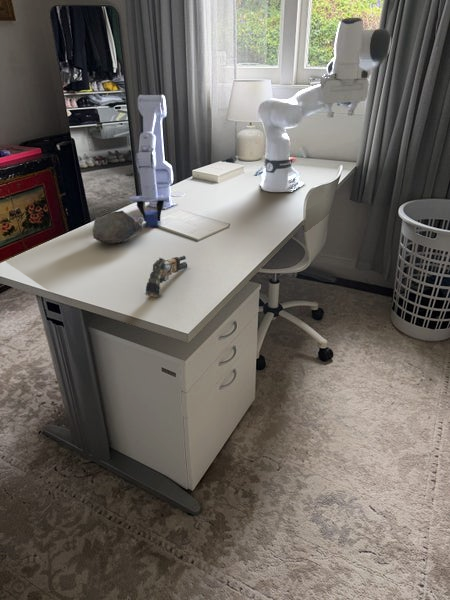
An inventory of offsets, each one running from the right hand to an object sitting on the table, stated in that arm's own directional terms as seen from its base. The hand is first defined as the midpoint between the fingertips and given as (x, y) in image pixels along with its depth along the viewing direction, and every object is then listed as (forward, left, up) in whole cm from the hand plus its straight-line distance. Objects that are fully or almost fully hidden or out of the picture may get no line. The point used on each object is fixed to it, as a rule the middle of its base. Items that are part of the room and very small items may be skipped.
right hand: (340, 116), depth 154 cm
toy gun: (+84, -2, -36) cm, 92 cm away
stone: (+75, -39, -36) cm, 92 cm away
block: (+56, -44, -36) cm, 80 cm away
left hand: (+56, -44, -35) cm, 80 cm away
